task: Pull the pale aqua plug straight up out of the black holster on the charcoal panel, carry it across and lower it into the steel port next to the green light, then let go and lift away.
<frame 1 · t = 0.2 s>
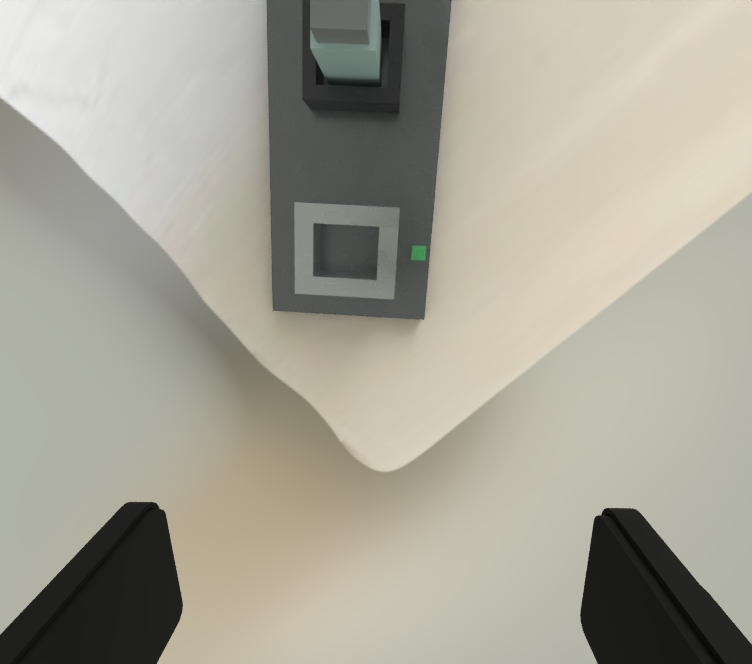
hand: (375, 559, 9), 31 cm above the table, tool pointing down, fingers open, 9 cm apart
panel: (354, 165, 35), on the table
plug: (356, 67, 32), point 1 cm above the table, touching panel
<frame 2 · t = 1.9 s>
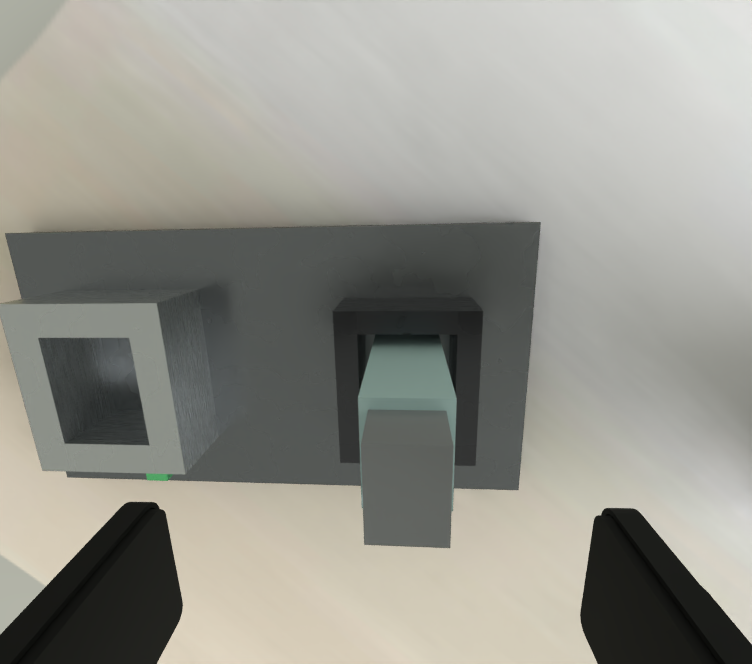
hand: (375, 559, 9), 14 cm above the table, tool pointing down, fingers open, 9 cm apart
panel: (280, 357, 23), on the table
plug: (407, 367, 21), point 1 cm above the table, touching panel
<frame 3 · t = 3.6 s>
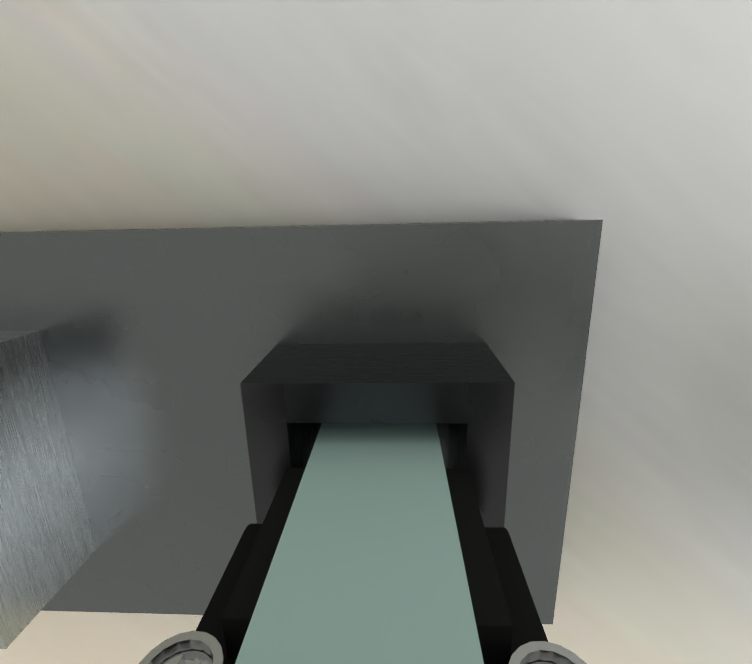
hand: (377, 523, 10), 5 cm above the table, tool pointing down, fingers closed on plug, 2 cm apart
panel: (191, 427, 15), on the table
plug: (382, 450, 13), point 2 cm above the table, touching gripper, panel
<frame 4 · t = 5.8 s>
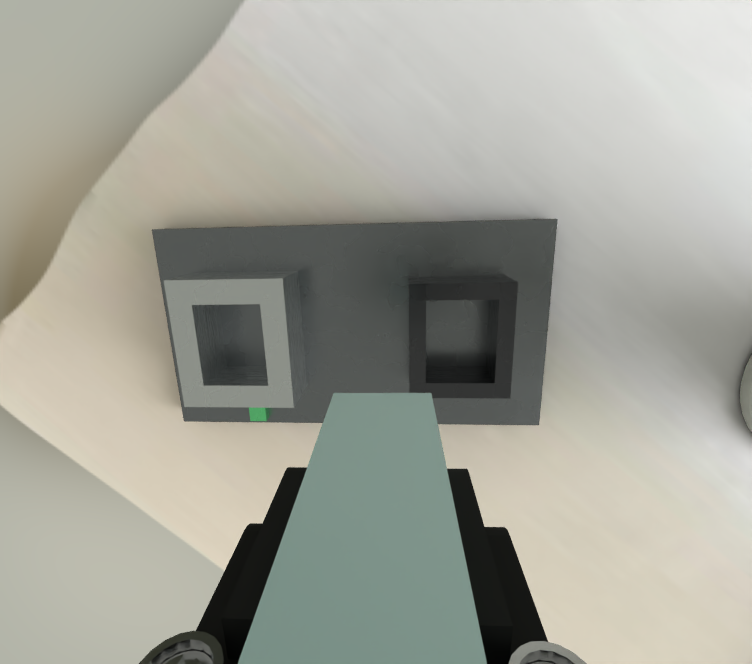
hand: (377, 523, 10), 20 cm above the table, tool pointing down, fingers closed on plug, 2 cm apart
panel: (354, 324, 29), on the table
plug: (383, 450, 13), point 17 cm above the table, touching gripper
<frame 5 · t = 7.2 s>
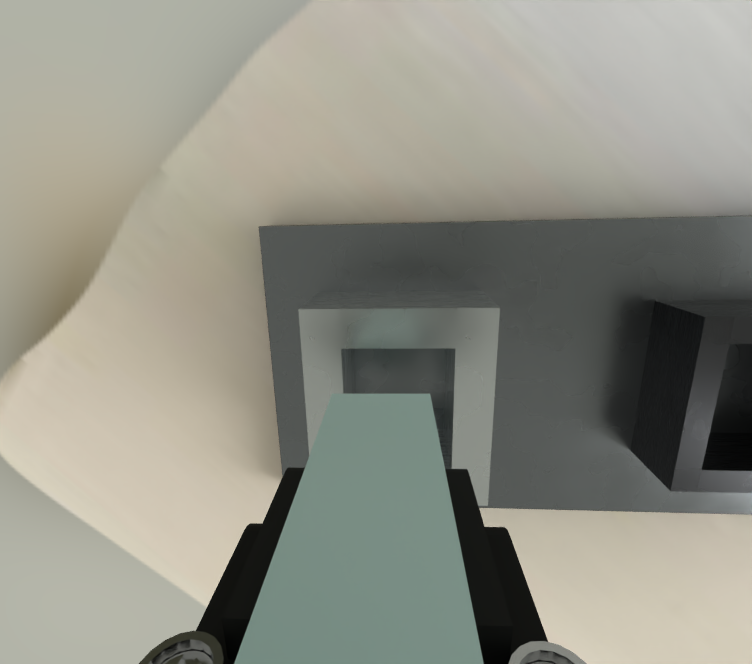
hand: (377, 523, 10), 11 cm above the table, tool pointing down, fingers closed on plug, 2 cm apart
panel: (542, 367, 20), on the table
plug: (381, 451, 13), point 8 cm above the table, touching gripper
when the fingers open (6 cm above the table, at t = 8.4 s): plug drops 1 cm, resting on panel.
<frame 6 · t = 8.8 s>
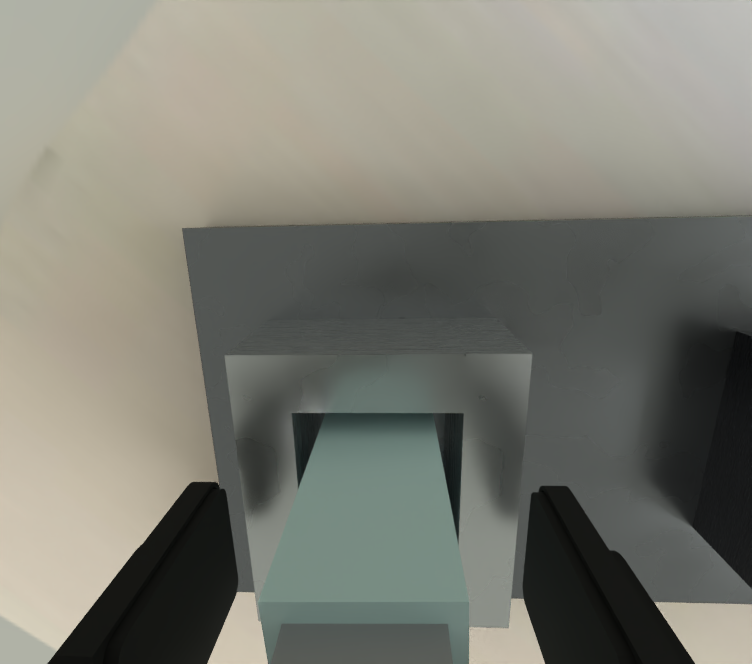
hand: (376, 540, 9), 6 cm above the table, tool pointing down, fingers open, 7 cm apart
panel: (572, 414, 15), on the table
plug: (384, 436, 14), point 1 cm above the table, touching panel
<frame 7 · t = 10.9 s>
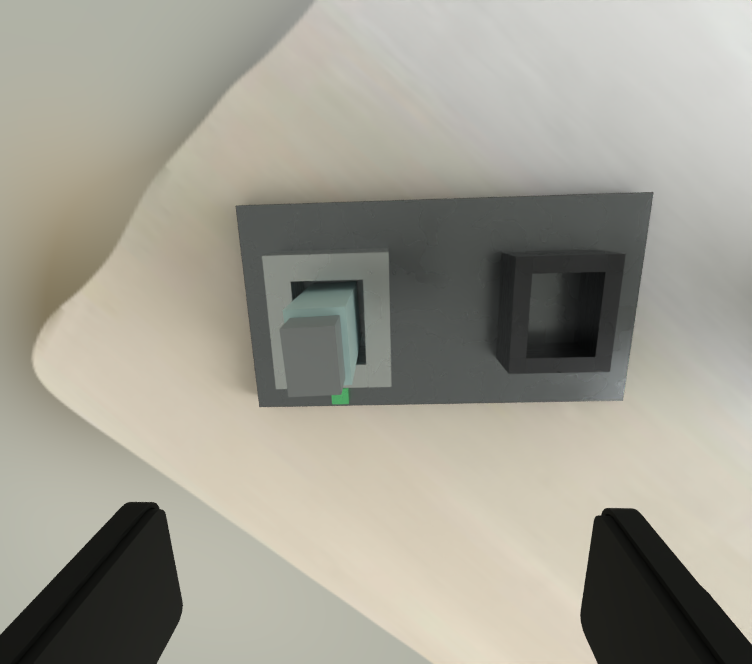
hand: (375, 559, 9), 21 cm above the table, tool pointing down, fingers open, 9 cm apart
panel: (437, 303, 29), on the table
plug: (336, 311, 27), point 1 cm above the table, touching panel
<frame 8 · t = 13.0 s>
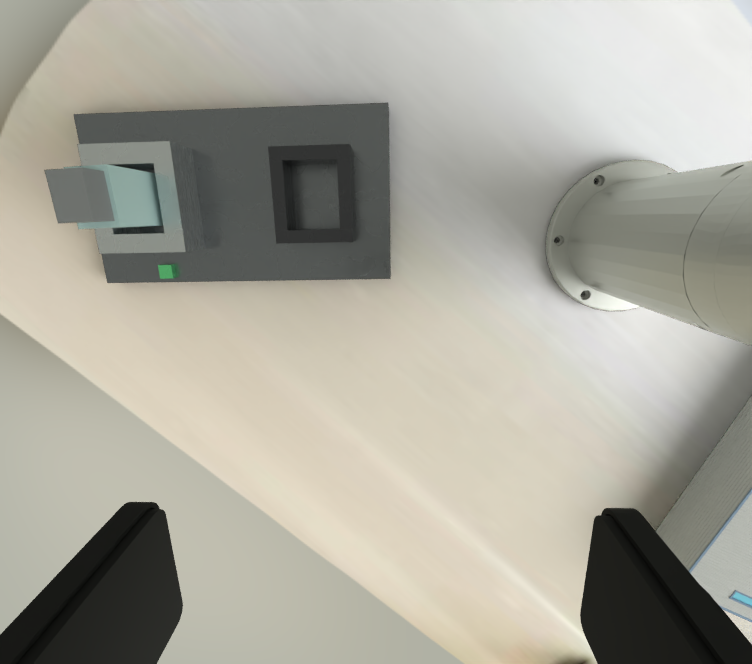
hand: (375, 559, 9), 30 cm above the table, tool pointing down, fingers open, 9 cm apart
panel: (243, 200, 36), on the table
plug: (158, 202, 35), point 1 cm above the table, touching panel
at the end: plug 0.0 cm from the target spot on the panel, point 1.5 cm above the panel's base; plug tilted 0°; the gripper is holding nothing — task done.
